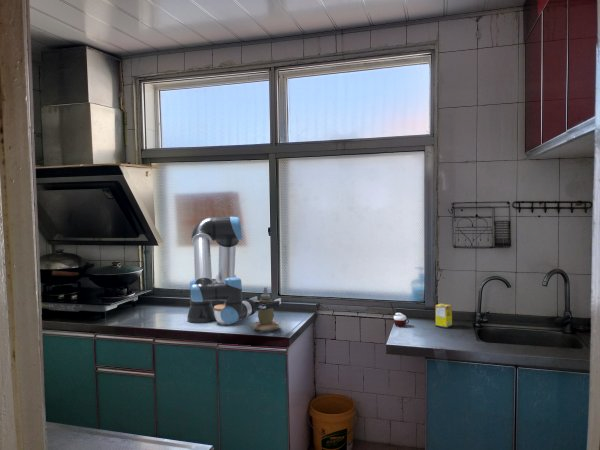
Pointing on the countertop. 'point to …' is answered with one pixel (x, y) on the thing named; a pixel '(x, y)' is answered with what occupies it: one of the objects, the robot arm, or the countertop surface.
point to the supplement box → (443, 315)
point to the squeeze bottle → (268, 314)
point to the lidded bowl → (219, 313)
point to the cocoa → (399, 319)
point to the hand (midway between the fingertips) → (268, 299)
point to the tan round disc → (266, 326)
